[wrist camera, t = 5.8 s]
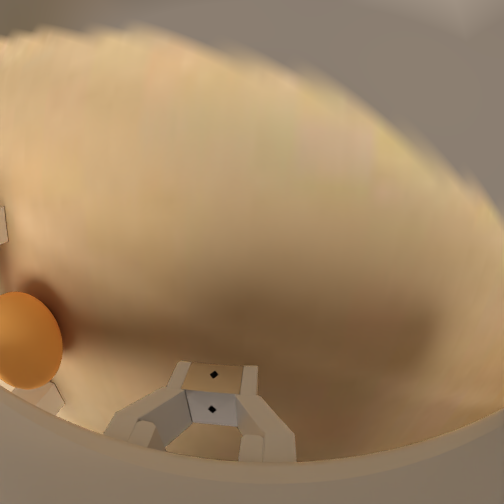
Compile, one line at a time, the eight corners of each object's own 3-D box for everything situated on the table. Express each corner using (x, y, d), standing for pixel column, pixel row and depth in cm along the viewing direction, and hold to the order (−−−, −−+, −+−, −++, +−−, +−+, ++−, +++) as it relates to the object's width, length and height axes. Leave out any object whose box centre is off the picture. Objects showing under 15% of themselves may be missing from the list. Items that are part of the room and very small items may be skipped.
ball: (27, 270, 12) (61, 290, 10) (51, 343, 13) (91, 376, 11) (-39, 300, 7) (-28, 334, 5) (-5, 376, 9) (25, 424, 7)
